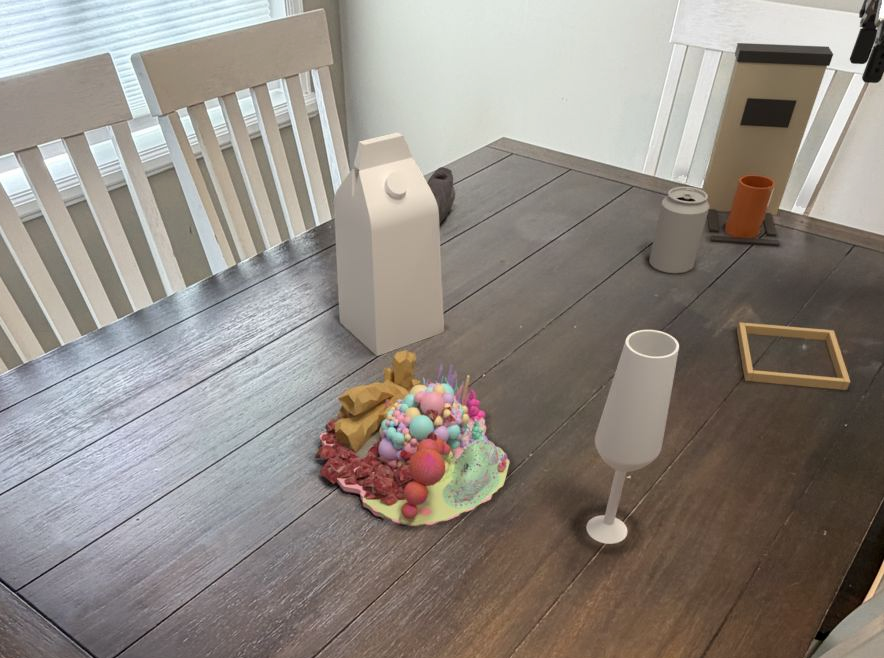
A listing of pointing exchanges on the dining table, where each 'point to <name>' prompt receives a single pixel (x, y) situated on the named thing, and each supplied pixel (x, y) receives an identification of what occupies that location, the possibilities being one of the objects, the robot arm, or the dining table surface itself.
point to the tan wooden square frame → (786, 378)
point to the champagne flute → (634, 418)
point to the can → (679, 230)
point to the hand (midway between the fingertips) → (863, 72)
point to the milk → (388, 248)
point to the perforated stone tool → (442, 190)
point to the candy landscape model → (413, 447)
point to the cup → (749, 206)
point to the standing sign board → (762, 125)
